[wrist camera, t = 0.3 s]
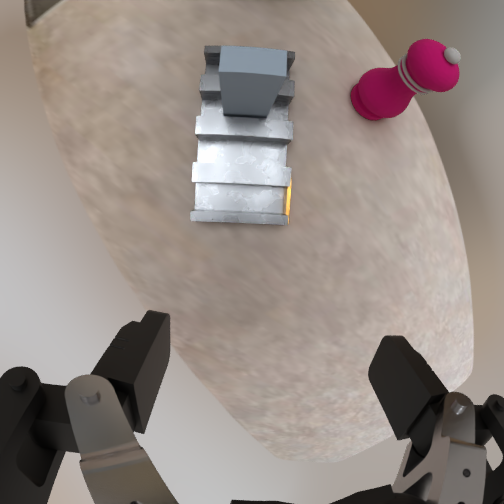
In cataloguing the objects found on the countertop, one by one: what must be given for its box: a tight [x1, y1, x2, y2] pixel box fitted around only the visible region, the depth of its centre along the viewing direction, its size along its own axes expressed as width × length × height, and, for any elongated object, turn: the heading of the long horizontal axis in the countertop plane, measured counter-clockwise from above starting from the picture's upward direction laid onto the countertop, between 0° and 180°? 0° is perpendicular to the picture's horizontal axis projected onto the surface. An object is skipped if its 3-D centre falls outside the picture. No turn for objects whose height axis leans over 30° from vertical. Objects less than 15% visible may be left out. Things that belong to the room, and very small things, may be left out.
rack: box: [190, 46, 295, 225], centre depth 31 cm, size 22×11×5 cm, turn 177°
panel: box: [219, 46, 287, 119], centre depth 24 cm, size 2×5×15 cm, turn 87°
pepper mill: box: [351, 39, 461, 120], centre depth 23 cm, size 7×7×20 cm
